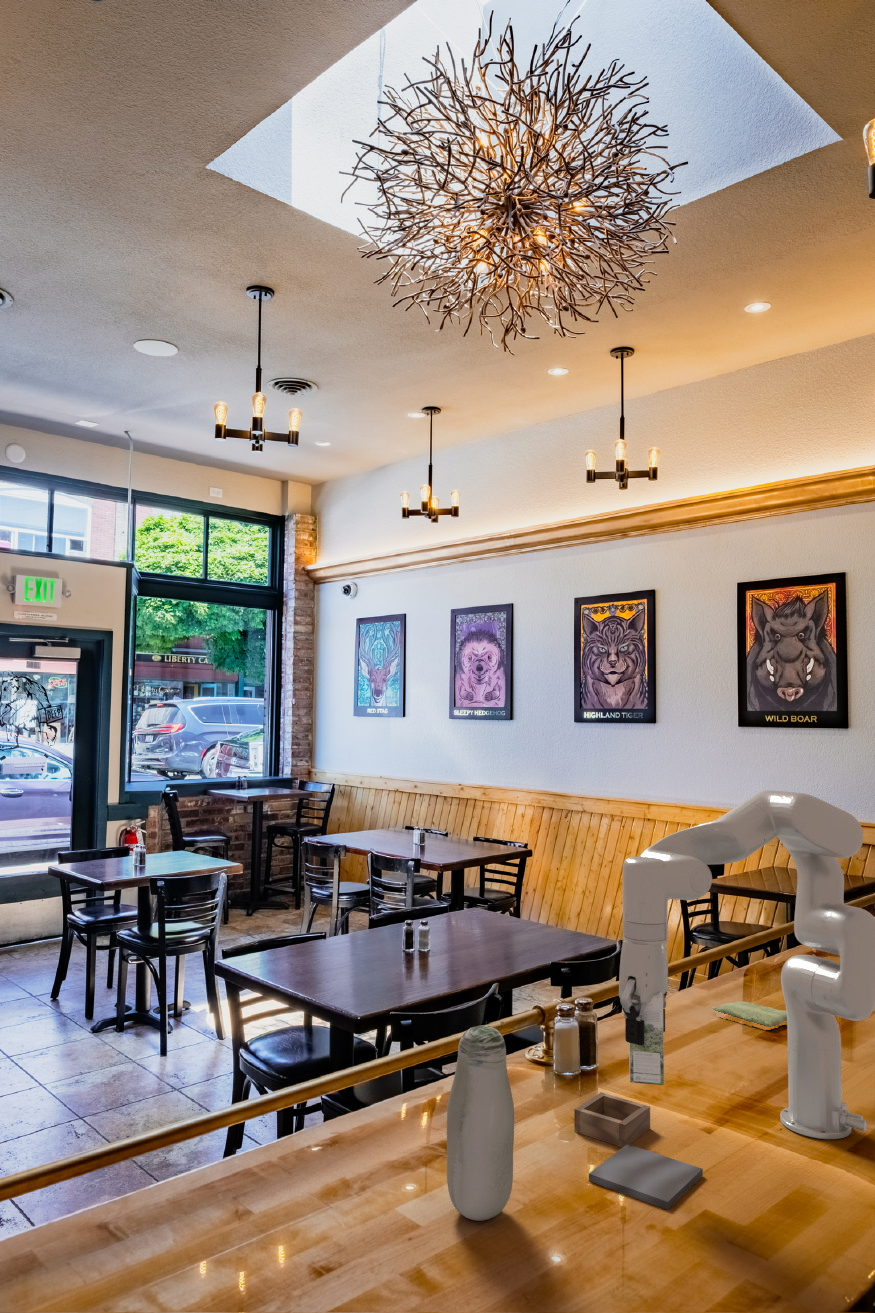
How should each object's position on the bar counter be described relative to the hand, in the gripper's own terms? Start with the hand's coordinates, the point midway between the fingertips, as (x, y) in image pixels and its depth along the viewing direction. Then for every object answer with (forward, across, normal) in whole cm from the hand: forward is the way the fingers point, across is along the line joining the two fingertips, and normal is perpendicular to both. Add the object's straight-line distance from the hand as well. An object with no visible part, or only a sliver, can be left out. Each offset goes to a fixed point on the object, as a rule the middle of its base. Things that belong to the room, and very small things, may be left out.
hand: (645, 1036), depth 153 cm
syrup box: (+7, 0, 0) cm, 7 cm away
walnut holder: (+23, -13, -13) cm, 30 cm away
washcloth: (+24, -96, -16) cm, 100 cm away
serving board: (+23, 0, 0) cm, 23 cm away
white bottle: (+23, +27, -15) cm, 39 cm away
